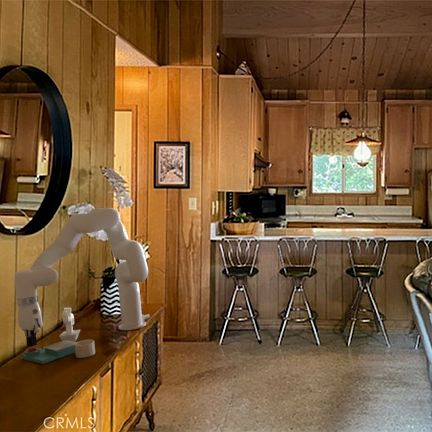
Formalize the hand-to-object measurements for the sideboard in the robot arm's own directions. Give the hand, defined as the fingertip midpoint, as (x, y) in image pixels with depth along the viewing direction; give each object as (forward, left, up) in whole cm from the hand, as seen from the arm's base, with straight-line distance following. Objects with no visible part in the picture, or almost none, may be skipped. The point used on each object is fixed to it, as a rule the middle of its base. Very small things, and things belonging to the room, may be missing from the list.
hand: (32, 345), depth 198 cm
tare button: (0, 0, -2) cm, 2 cm away
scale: (-5, +5, -5) cm, 9 cm away
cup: (-11, +19, -5) cm, 22 cm away
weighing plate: (-8, +7, -5) cm, 12 cm away
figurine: (-20, -5, -5) cm, 22 cm away
